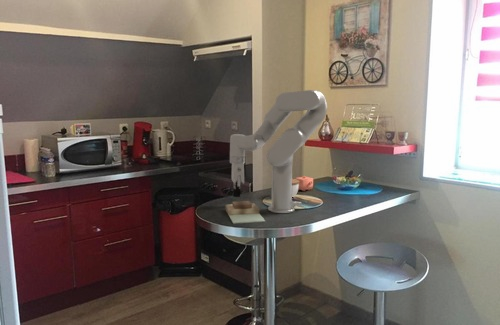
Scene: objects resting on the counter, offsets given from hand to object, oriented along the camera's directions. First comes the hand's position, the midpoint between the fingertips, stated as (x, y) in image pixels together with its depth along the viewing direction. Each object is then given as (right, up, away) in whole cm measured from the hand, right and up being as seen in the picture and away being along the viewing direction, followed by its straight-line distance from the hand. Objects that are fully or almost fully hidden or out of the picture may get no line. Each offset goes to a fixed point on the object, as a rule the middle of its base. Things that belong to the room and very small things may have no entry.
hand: (236, 196), depth 209 cm
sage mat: (+5, -8, -21) cm, 23 cm away
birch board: (+3, -7, -10) cm, 12 cm away
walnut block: (+3, -4, -10) cm, 11 cm away
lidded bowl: (+26, -2, +20) cm, 33 cm away
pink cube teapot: (+38, 0, +37) cm, 53 cm away
